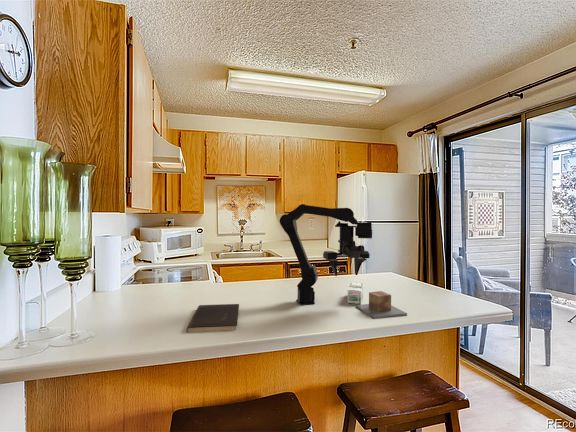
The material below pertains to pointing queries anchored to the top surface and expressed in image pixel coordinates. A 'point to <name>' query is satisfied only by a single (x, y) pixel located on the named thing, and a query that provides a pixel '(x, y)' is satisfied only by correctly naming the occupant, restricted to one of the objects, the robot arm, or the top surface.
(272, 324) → the top surface
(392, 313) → the trivet
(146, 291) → the top surface
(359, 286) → the syrup box
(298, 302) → the robot arm
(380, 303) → the walnut cube
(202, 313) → the hardcover book
